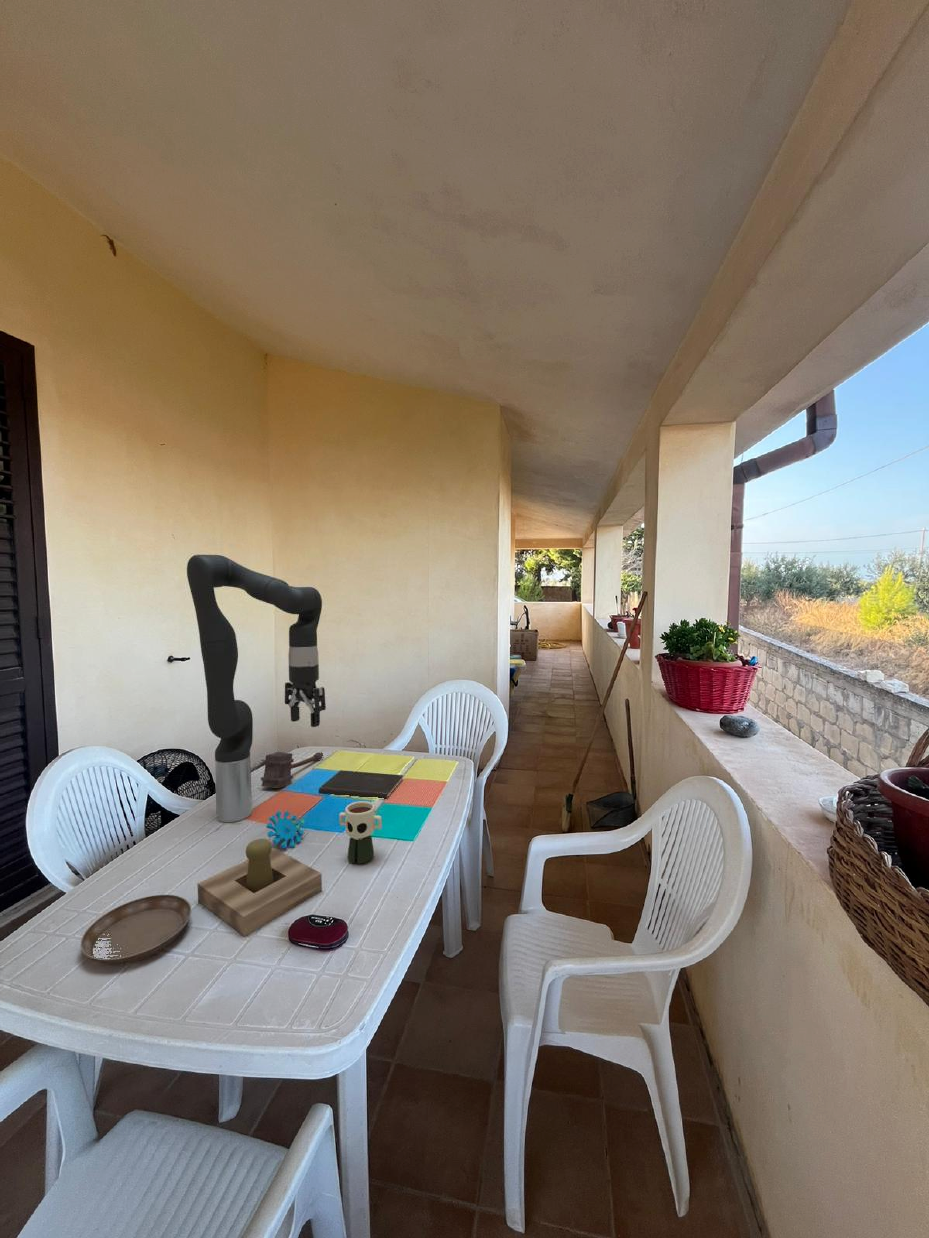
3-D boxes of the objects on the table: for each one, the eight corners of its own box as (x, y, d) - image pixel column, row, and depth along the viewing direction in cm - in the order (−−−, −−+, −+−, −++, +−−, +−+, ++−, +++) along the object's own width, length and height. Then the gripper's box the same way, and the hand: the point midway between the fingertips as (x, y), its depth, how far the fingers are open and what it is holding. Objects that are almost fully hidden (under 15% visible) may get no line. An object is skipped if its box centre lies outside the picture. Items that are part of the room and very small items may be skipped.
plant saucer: (146, 979, 87) (145, 962, 87) (55, 968, 90) (54, 951, 89) (211, 912, 105) (210, 898, 104) (134, 904, 107) (133, 890, 107)
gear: (277, 850, 125) (263, 814, 129) (266, 862, 127) (251, 826, 132) (314, 838, 134) (299, 804, 139) (302, 849, 136) (288, 816, 141)
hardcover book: (340, 776, 179) (340, 770, 178) (403, 781, 174) (403, 775, 174) (318, 795, 163) (318, 788, 163) (386, 801, 158) (386, 794, 158)
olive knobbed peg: (250, 883, 113) (248, 835, 112) (278, 881, 113) (276, 834, 112) (240, 900, 107) (239, 849, 106) (270, 898, 107) (269, 848, 106)
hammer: (259, 786, 165) (262, 754, 166) (312, 770, 197) (314, 744, 198) (277, 788, 163) (280, 756, 165) (328, 772, 195) (330, 745, 196)
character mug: (333, 864, 122) (332, 811, 121) (346, 848, 129) (345, 799, 128) (376, 868, 120) (376, 815, 119) (387, 853, 127) (386, 802, 126)
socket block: (198, 901, 108) (197, 883, 108) (274, 863, 122) (273, 847, 122) (244, 936, 97) (243, 916, 97) (321, 890, 112) (321, 873, 111)
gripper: (275, 662, 135) (276, 722, 136) (308, 667, 126) (310, 731, 128) (299, 658, 141) (300, 716, 142) (332, 663, 132) (333, 724, 134)
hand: (305, 723), depth 135 cm, fingers open, 8 cm apart
